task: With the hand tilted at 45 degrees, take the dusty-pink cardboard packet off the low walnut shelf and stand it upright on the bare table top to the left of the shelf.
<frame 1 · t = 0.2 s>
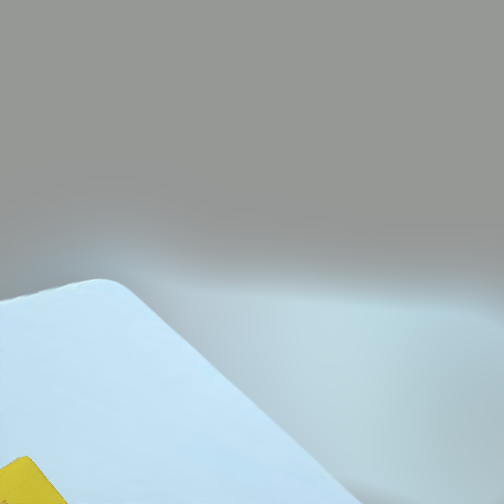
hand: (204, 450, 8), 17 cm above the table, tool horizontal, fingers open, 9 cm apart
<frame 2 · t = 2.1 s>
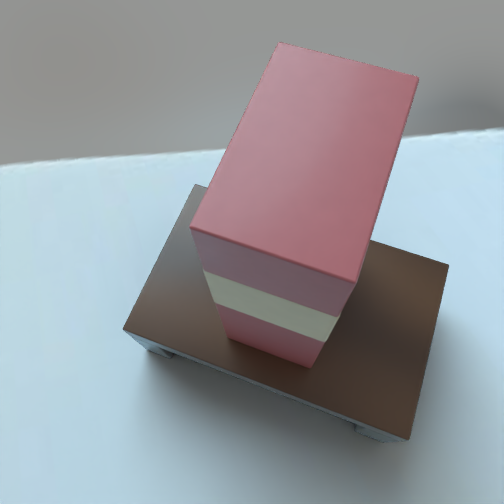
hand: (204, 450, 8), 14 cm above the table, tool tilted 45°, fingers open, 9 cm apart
packet: (290, 291, 19), point 4 cm above the table, touching shelf
shelf: (285, 321, 23), on the table
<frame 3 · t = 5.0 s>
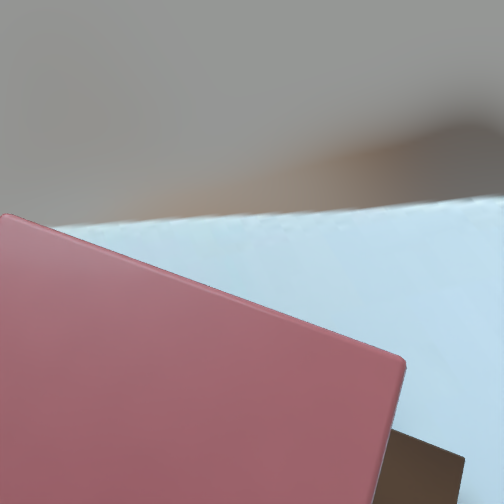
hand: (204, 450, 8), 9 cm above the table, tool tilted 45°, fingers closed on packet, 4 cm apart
packet: (206, 503, 12), point 4 cm above the table, touching gripper, shelf
shelf: (218, 497, 15), on the table
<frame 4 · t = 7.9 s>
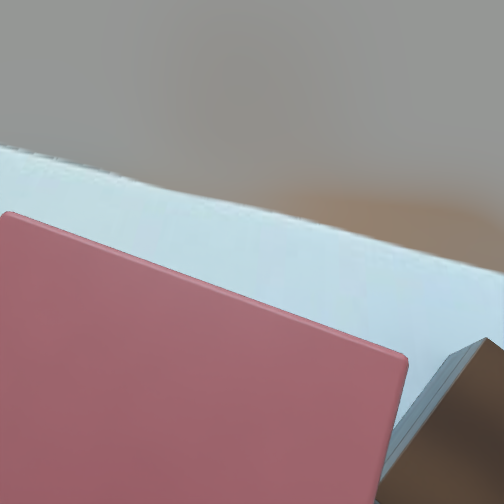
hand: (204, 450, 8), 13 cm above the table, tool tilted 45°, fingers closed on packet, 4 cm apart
packet: (207, 502, 12), point 9 cm above the table, touching gripper
when the fingers open (5 cm above the table, at t = 11.0 s): packet stays where it is, on the table.
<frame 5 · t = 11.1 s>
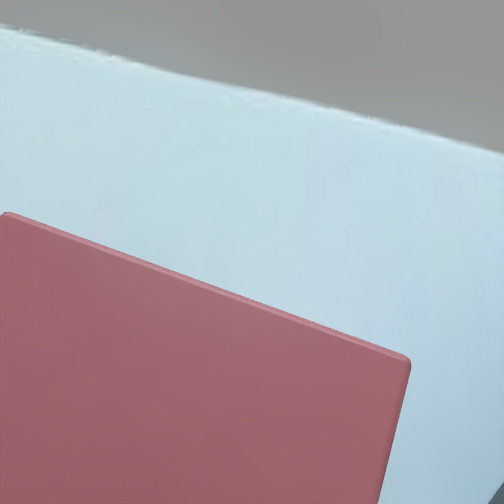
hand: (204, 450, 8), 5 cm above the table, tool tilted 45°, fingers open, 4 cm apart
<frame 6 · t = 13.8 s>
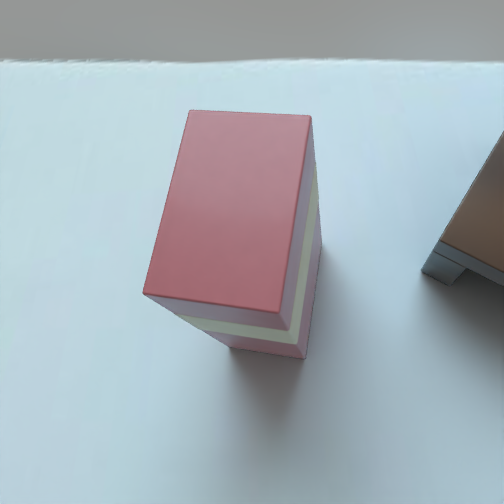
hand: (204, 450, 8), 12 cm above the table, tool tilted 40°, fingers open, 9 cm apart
packet: (275, 293, 21), on the table
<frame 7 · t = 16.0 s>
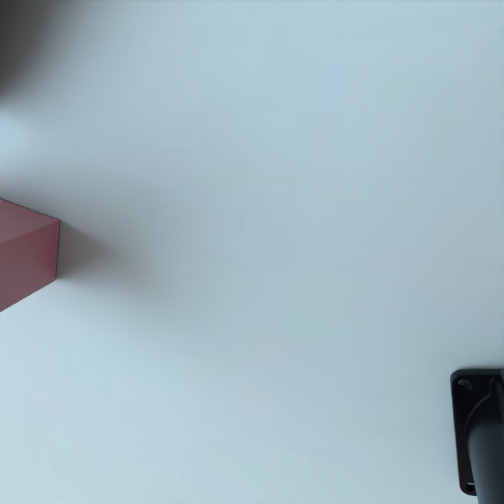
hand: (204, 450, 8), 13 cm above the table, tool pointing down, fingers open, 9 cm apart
packet: (13, 234, 25), on the table
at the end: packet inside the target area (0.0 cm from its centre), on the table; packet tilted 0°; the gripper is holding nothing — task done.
